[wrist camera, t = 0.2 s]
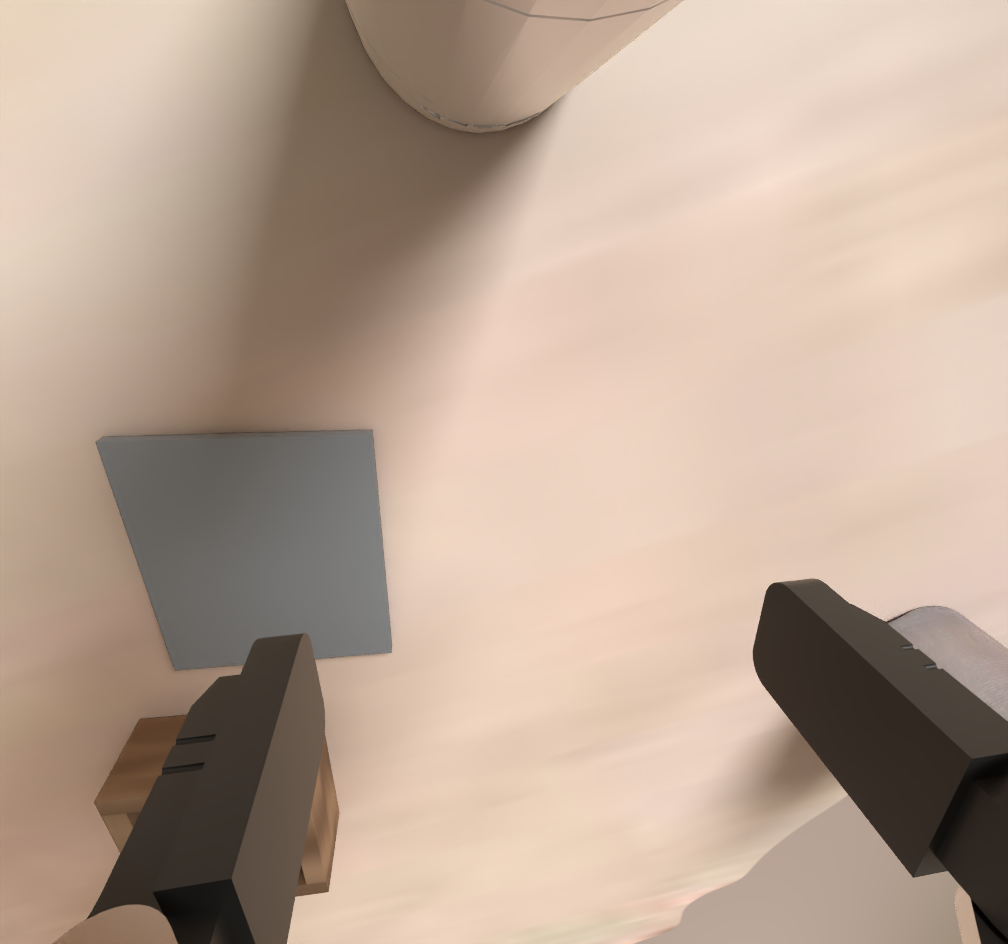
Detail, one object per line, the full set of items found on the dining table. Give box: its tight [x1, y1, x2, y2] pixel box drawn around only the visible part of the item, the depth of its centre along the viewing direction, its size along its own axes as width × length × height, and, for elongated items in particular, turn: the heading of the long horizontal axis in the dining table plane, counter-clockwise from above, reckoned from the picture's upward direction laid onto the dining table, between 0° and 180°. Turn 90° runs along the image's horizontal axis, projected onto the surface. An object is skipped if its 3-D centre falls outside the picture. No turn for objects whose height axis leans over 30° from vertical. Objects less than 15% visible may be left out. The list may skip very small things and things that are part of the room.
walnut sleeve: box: [94, 715, 339, 897], centre depth 33 cm, size 11×10×5 cm
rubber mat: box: [96, 430, 392, 670], centre depth 28 cm, size 14×12×1 cm
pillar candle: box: [887, 606, 1008, 721], centre depth 33 cm, size 10×10×15 cm
